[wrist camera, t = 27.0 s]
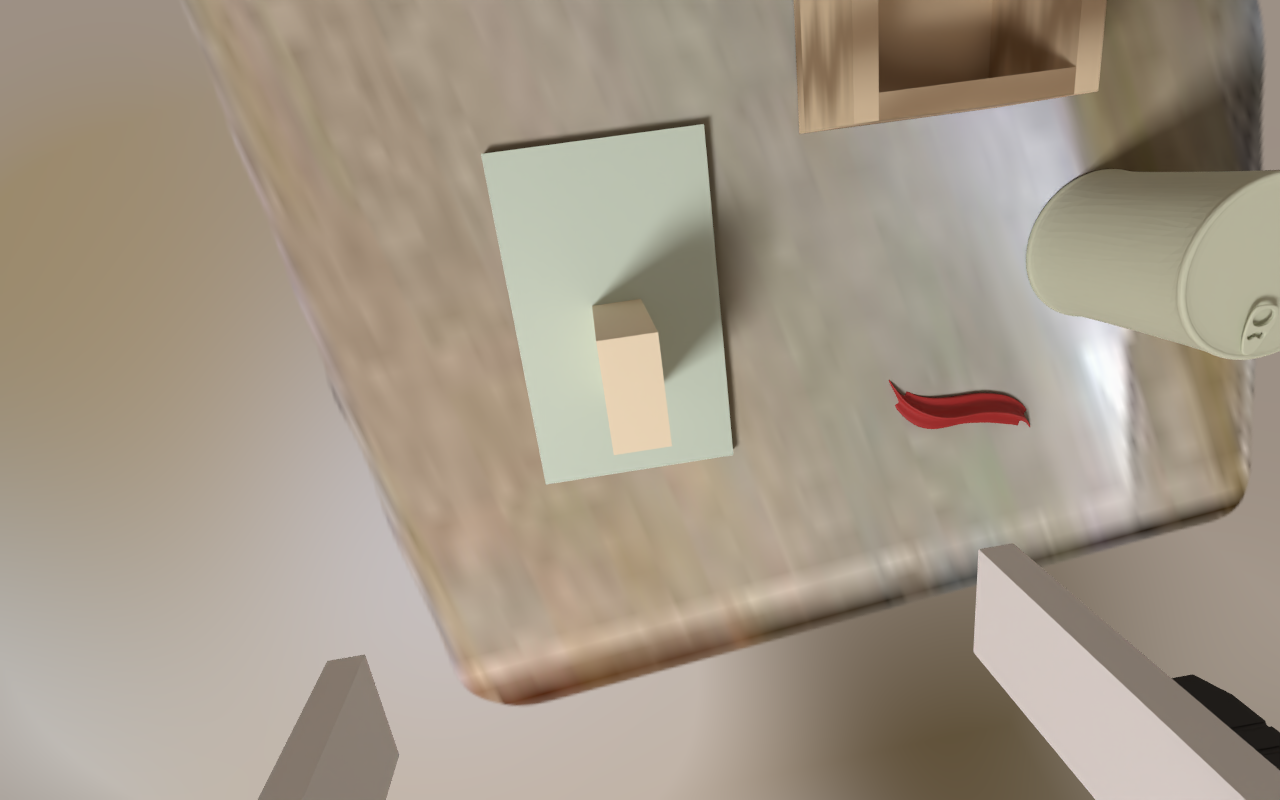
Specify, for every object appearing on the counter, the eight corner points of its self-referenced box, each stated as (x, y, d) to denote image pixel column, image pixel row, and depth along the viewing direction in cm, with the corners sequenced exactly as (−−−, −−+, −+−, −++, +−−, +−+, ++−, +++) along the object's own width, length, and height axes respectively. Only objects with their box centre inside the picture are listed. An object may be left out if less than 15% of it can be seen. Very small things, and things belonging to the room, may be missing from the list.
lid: (483, 154, 38) (452, 147, 28) (700, 125, 38) (741, 109, 29) (546, 476, 45) (538, 559, 35) (729, 448, 45) (770, 522, 35)
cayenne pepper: (866, 401, 45) (879, 411, 43) (903, 341, 44) (917, 349, 42) (1002, 466, 48) (1018, 478, 46) (1040, 412, 46) (1059, 421, 45)
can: (1014, 318, 43) (1168, 369, 32) (1037, 171, 40) (1217, 169, 29) (1145, 312, 44) (1340, 359, 33) (1177, 166, 41) (1405, 163, 30)
